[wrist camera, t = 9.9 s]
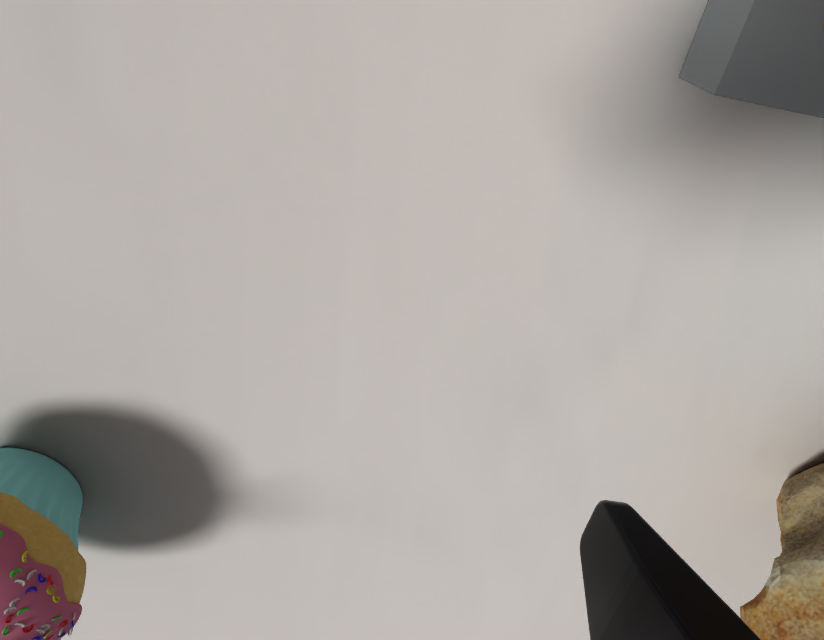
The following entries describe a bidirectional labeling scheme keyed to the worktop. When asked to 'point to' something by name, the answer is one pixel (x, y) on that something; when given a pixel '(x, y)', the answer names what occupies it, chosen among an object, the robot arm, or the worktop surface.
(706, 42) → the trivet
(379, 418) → the worktop surface
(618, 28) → the worktop surface
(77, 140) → the worktop surface
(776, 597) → the rough brown rock
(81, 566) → the cupcake
